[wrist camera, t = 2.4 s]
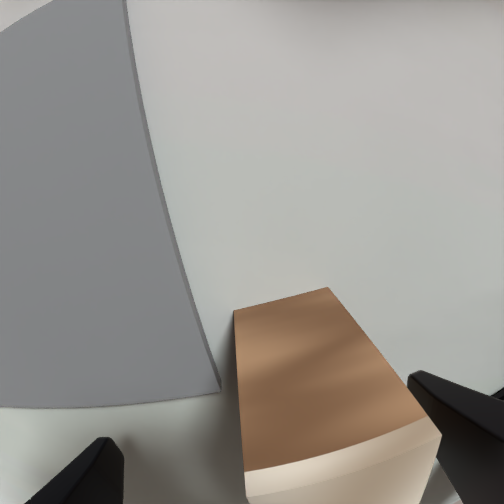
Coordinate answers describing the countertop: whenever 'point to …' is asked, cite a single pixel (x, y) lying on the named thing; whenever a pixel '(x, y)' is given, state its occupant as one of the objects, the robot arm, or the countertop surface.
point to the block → (325, 409)
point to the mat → (87, 224)
